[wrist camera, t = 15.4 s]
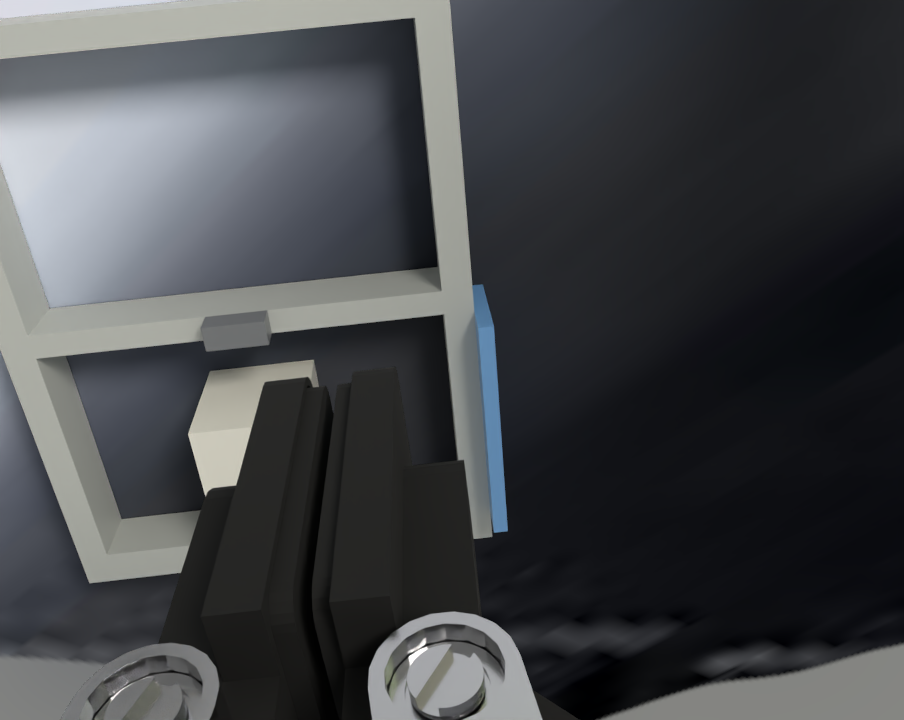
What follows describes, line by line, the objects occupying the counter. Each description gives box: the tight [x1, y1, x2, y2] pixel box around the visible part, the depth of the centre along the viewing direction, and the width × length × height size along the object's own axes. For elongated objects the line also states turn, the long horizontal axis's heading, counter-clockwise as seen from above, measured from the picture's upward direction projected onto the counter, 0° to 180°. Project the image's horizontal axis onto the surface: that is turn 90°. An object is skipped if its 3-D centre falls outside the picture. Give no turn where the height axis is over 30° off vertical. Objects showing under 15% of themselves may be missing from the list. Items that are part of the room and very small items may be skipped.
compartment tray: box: [0, 0, 508, 583], centre depth 31 cm, size 19×35×4 cm, turn 5°
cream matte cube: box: [188, 360, 319, 497], centre depth 36 cm, size 4×4×5 cm
